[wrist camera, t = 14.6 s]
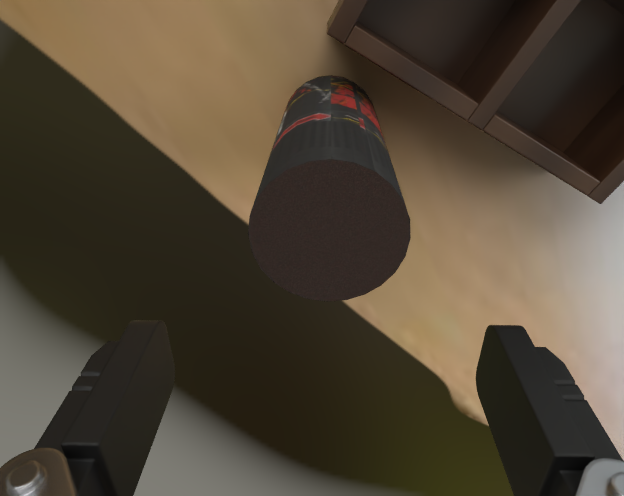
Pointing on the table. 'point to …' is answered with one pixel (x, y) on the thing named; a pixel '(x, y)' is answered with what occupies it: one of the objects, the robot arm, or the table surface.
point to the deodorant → (329, 197)
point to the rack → (511, 73)
